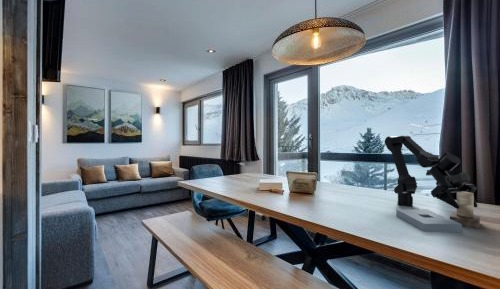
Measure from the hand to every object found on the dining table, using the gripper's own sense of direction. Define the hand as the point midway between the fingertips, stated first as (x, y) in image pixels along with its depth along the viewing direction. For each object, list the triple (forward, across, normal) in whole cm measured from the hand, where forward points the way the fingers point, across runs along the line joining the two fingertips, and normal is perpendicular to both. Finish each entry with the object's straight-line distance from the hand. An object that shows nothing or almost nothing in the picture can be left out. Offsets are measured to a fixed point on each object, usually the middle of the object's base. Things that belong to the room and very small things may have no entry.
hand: (467, 207), depth 102 cm
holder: (+4, 0, +6) cm, 7 cm away
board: (+1, -15, +8) cm, 18 cm away
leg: (+4, 0, +6) cm, 7 cm away
